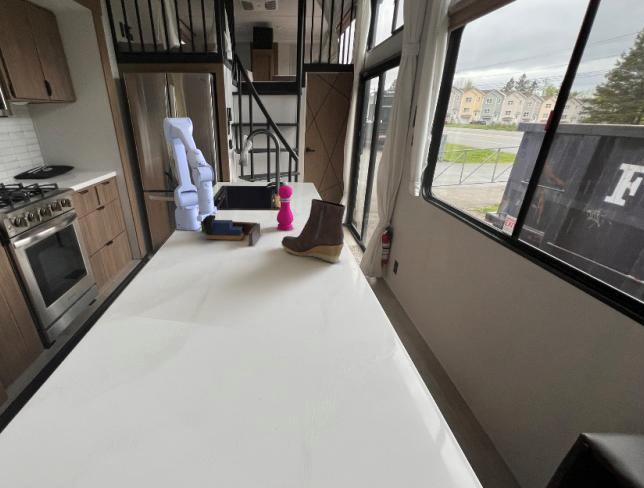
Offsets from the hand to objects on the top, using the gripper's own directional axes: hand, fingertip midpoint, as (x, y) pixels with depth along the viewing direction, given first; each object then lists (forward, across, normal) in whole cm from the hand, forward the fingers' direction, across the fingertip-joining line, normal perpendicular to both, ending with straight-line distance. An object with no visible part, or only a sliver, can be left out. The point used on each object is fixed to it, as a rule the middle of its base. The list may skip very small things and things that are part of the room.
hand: (209, 233), depth 127 cm
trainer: (+2, +4, -5) cm, 7 cm away
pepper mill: (+3, +20, -27) cm, 33 cm away
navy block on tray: (+3, +4, -5) cm, 7 cm away
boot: (+3, -6, -41) cm, 41 cm away
